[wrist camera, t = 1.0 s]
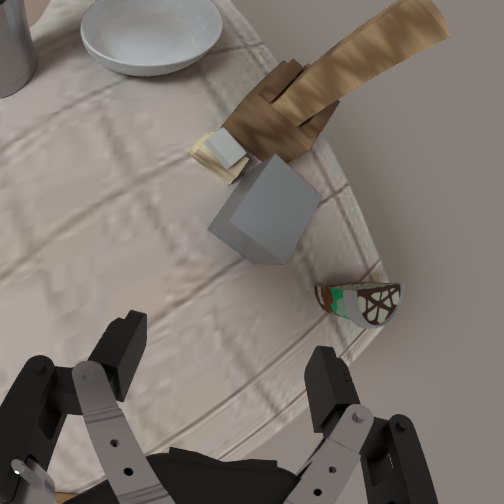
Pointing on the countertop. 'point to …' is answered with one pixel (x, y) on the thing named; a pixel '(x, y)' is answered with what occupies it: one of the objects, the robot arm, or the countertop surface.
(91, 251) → the countertop surface
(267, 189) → the slate block
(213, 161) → the pine offcut
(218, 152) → the grey painted offcut
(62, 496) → the small box
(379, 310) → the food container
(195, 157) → the pine offcut
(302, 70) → the walnut rack
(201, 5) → the serving bowl
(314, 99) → the oak board
